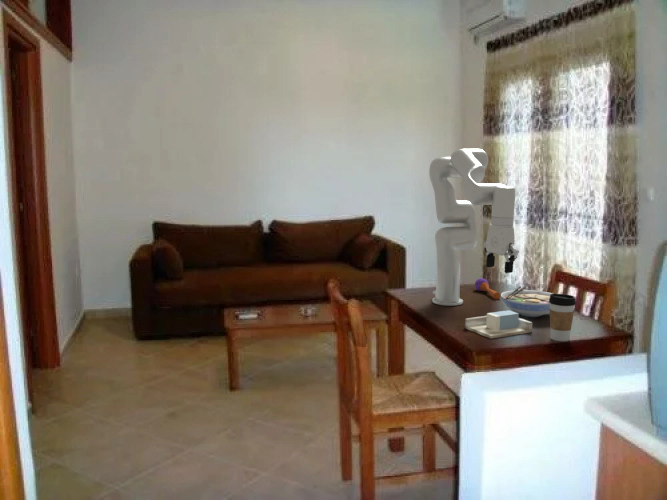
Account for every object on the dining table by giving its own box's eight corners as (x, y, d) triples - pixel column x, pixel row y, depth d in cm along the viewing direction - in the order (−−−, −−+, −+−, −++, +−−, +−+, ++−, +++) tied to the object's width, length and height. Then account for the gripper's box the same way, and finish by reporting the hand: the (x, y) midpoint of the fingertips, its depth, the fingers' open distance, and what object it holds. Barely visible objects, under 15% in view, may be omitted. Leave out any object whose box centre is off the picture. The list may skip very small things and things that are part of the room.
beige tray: (464, 328, 221) (465, 318, 220) (504, 322, 229) (505, 313, 228) (490, 338, 209) (491, 328, 208) (531, 332, 216) (532, 322, 216)
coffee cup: (542, 335, 212) (545, 292, 210) (566, 334, 213) (569, 292, 211) (553, 342, 204) (555, 298, 202) (578, 342, 205) (580, 297, 202)
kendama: (489, 291, 263) (472, 278, 282) (491, 304, 264) (473, 290, 284) (502, 288, 264) (484, 275, 283) (504, 301, 265) (486, 287, 284)
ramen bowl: (553, 327, 223) (554, 304, 221) (490, 318, 235) (491, 296, 233) (568, 312, 243) (569, 291, 242) (510, 304, 256) (511, 285, 254)
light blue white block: (508, 323, 223) (509, 310, 222) (518, 327, 219) (518, 313, 218) (486, 327, 219) (486, 313, 218) (495, 330, 214) (496, 316, 214)
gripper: (477, 218, 222) (475, 265, 225) (510, 226, 207) (507, 276, 210) (494, 217, 225) (491, 264, 229) (528, 224, 210) (524, 274, 213)
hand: (499, 269), depth 219 cm, fingers open, 9 cm apart
